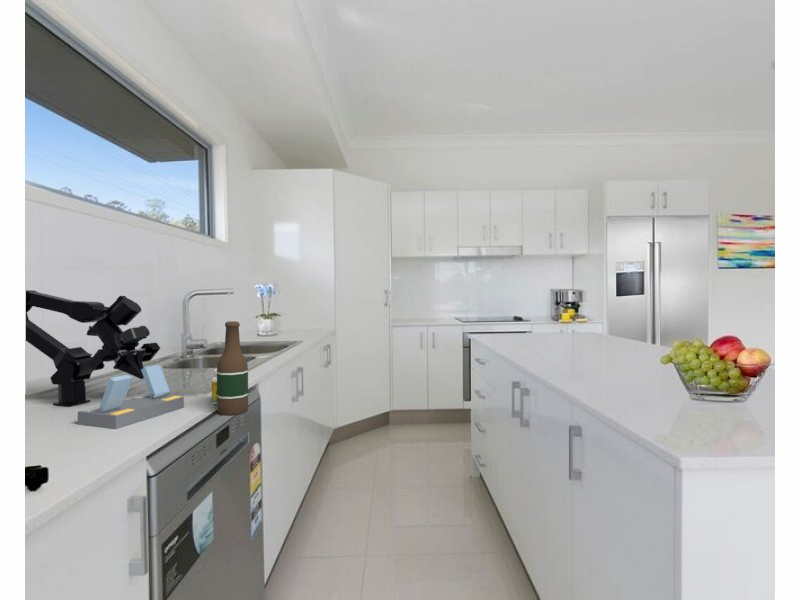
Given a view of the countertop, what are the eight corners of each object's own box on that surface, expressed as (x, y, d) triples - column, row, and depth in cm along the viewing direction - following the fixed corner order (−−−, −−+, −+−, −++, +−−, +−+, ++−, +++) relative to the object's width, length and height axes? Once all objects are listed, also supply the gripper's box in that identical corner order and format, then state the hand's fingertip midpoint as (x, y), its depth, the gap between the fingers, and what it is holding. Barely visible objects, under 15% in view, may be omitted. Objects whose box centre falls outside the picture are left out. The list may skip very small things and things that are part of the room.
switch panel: (77, 424, 111) (77, 411, 111) (149, 404, 131) (149, 393, 131) (115, 428, 107) (115, 415, 107) (183, 407, 127) (183, 396, 127)
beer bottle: (230, 417, 117) (229, 323, 117) (210, 413, 121) (210, 321, 121) (254, 411, 124) (254, 321, 123) (235, 407, 128) (234, 320, 127)
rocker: (151, 399, 124) (141, 369, 125) (166, 395, 129) (156, 366, 130) (156, 397, 123) (145, 367, 124) (170, 393, 128) (160, 364, 129)
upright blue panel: (98, 410, 110) (109, 378, 108) (117, 405, 114) (128, 374, 113) (102, 413, 109) (114, 381, 108) (121, 408, 114) (132, 377, 113)
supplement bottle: (229, 399, 137) (229, 367, 137) (233, 403, 132) (233, 369, 132) (209, 402, 134) (209, 369, 134) (213, 405, 129) (213, 371, 129)
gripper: (96, 318, 120) (130, 363, 117) (155, 315, 138) (185, 353, 135) (74, 347, 123) (106, 392, 120) (134, 340, 141) (164, 379, 137)
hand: (143, 377), depth 128 cm, fingers closed
